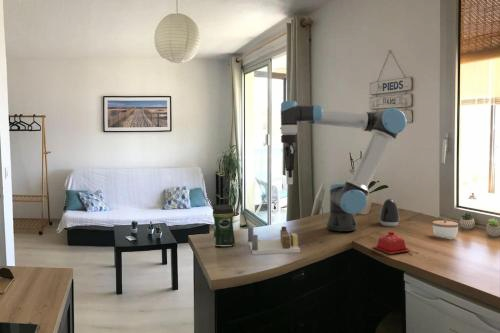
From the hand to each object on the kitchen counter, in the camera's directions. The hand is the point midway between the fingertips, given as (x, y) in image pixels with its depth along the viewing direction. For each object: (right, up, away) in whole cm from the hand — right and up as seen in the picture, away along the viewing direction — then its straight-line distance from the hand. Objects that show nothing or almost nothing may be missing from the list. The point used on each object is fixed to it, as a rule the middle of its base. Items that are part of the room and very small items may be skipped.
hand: (289, 184), depth 182 cm
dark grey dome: (+57, -24, +25) cm, 66 cm away
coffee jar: (-31, -28, -9) cm, 42 cm away
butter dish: (+41, -27, -21) cm, 53 cm away
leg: (-3, -25, -14) cm, 29 cm away
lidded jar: (+72, -26, -3) cm, 77 cm away
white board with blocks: (-9, -27, -14) cm, 32 cm away
